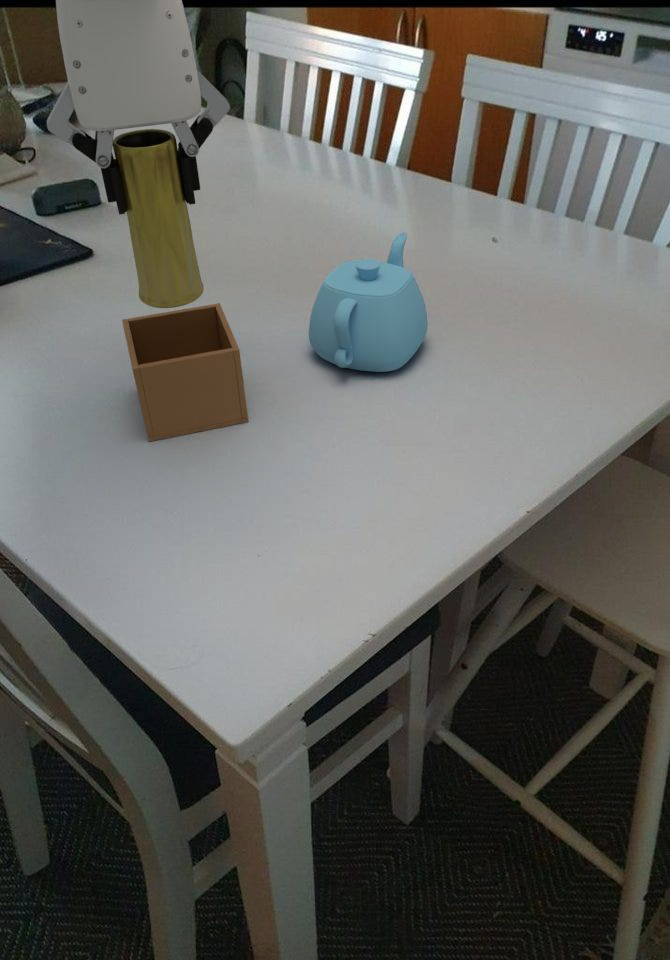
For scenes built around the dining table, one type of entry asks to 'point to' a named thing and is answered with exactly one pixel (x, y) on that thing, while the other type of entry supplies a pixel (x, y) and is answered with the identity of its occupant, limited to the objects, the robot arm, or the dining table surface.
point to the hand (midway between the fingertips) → (155, 201)
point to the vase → (158, 218)
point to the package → (186, 371)
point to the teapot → (369, 314)
